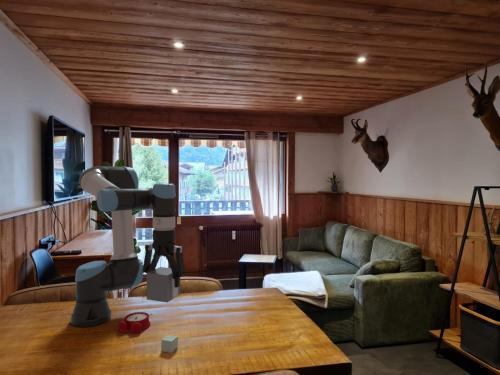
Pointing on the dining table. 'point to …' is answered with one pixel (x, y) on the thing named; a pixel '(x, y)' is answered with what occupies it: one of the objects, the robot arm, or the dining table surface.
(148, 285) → the grey matte cube
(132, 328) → the alarm clock
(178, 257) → the robot arm
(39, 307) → the dining table surface
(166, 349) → the block
